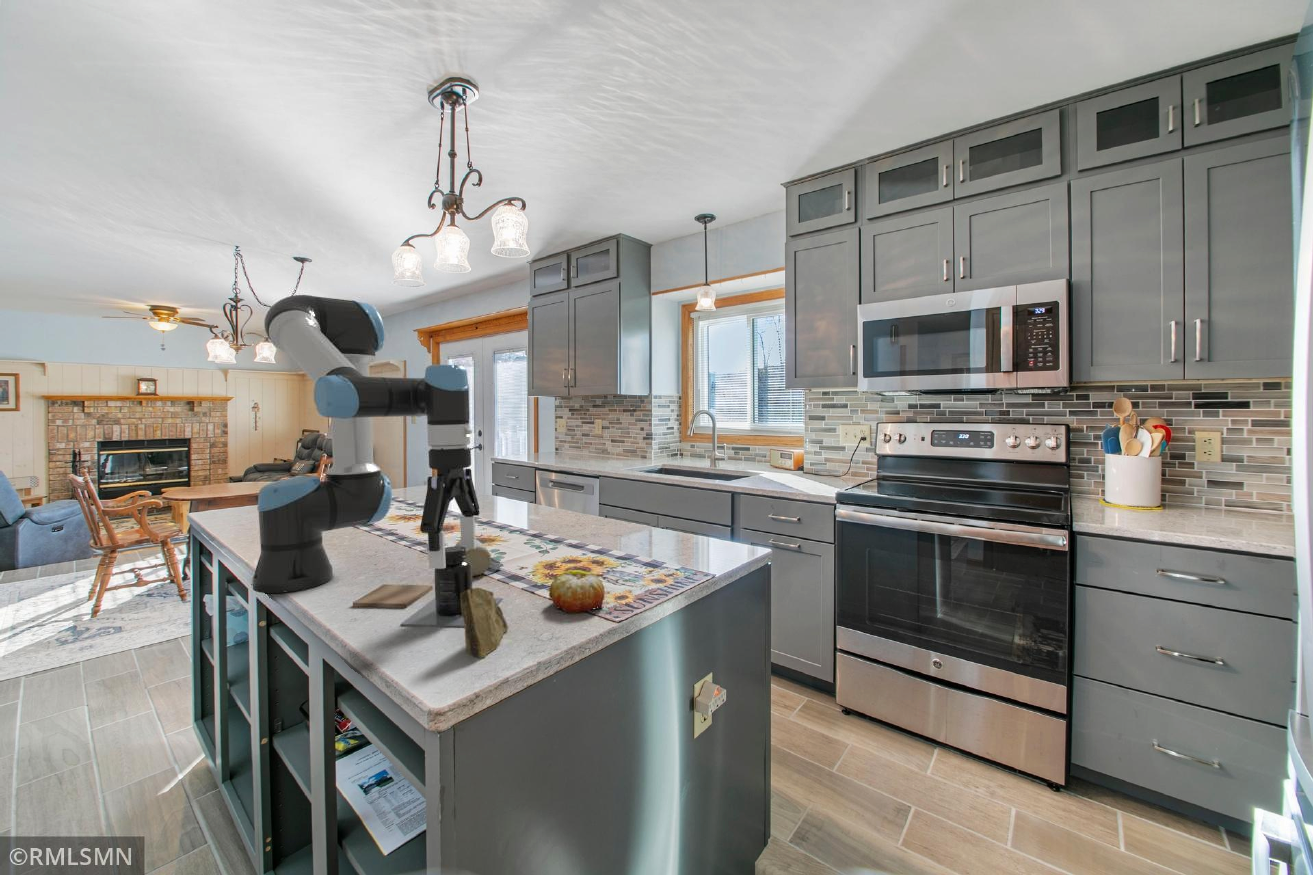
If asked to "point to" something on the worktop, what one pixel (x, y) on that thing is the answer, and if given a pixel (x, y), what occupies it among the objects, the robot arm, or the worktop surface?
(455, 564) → the supplement bottle
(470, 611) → the rock
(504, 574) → the worktop surface
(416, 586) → the walnut coaster
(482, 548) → the ceramic mug
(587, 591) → the fruit
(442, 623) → the tile
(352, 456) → the robot arm
